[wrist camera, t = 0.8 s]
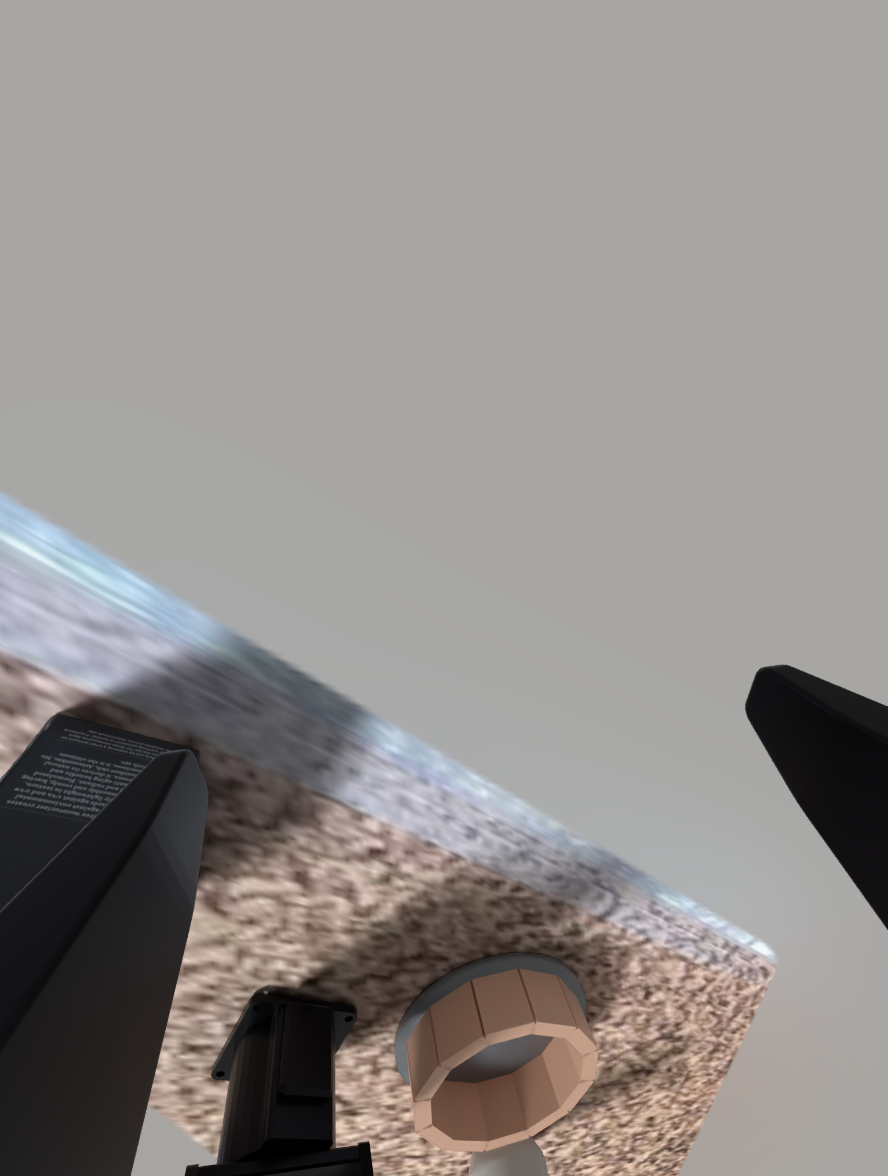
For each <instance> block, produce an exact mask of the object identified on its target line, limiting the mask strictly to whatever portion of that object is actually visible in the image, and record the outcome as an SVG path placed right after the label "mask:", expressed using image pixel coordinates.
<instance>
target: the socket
mask: <svg viewBox="0 0 888 1176" xmlns="http://www.w3.org/2000/svg"><path fill="white" fill-rule="evenodd" d="M585 1012H586V999H585V994H584V991H583V989H582V987H581V984H580V982H579V980H578V977H577V976H576V975H575V973H574V972H573V970H571V969H570V968H569V967H568V966H567V965H566V964H564V963H563V962H561V961H560V960H557V959H555V958H553V957H550V956H547V955H543V954H537V953H529V952H516V953H505V954H499V955H494V956H490V957H486V958H483V959H479V960H477V961H474V962H471V963H469V964H466V965H464V966H462V967H460V968H458V969H456V970H453V971H452V972H450V973H448V974H447V975H445V976H443V977H442V978H440V979H439V980H437V981H436V982H435V983H433V984H432V985H430V986H429V987H428V988H427V989H426V990H425V991H424V992H422V993H421V994H420V995H419V996H418V997H417V998H416V1000H415V1001H414V1002H413V1003H412V1004H411V1005H410V1007H409V1008H408V1009H407V1011H406V1012H405V1014H404V1016H403V1017H402V1019H401V1021H400V1023H399V1026H398V1029H397V1031H396V1036H395V1058H396V1064H397V1068H398V1071H399V1073H400V1075H401V1076H402V1078H403V1079H404V1080H405V1082H406V1083H407V1084H409V1085H410V1088H411V1096H412V1105H413V1113H414V1122H415V1130H416V1133H417V1134H419V1135H420V1136H422V1137H423V1138H425V1139H426V1140H428V1141H429V1142H431V1143H432V1144H434V1145H435V1146H437V1147H438V1148H440V1149H441V1150H442V1149H444V1151H475V1152H483V1151H484V1150H485V1151H488V1150H492V1149H495V1148H498V1147H501V1146H505V1145H508V1144H511V1143H514V1142H518V1141H521V1140H524V1139H528V1138H529V1135H530V1136H531V1137H532V1136H534V1135H535V1134H537V1133H538V1132H540V1131H541V1130H543V1129H544V1128H546V1127H547V1126H549V1125H551V1124H552V1123H554V1122H555V1121H557V1120H558V1119H560V1118H561V1117H563V1116H564V1115H566V1114H568V1113H569V1112H568V1111H571V1110H572V1109H573V1107H574V1106H575V1105H576V1104H577V1102H578V1101H579V1100H580V1099H581V1097H582V1096H583V1095H584V1094H585V1092H586V1091H587V1090H588V1088H589V1087H590V1086H591V1085H592V1083H593V1082H594V1079H595V1076H596V1068H597V1060H598V1051H599V1050H598V1047H597V1045H596V1042H595V1040H594V1037H593V1035H592V1033H591V1030H590V1028H589V1025H588V1023H587V1021H586V1018H585Z"/></svg>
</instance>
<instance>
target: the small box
mask: <svg viewBox="0 0 888 1176" xmlns="http://www.w3.org/2000/svg"><path fill="white" fill-rule="evenodd" d="M183 749H187V750H190V751H191V752H192V753H193V754H194V756H195V758H196V760H197V762H198V759H199V755H200V752H199V751H198V750H195V749H192V748H189V747H185V746H181V745H177V744H173V743H169V742H166V741H162V740H158V739H154V738H150V737H146V736H143V735H139V734H135V733H131V732H127V731H123V730H119V729H115V728H111V727H107V726H103V725H99V724H95V723H91V722H88V721H84V720H80V719H75V718H71V717H68V716H64V715H54V716H52V717H51V718H50V719H49V720H48V722H47V723H46V724H45V725H44V727H43V728H42V729H41V731H40V732H39V733H38V734H37V735H36V737H35V738H34V740H33V741H32V742H31V743H30V745H29V746H28V747H27V748H26V749H25V751H24V752H23V753H22V754H21V755H20V757H19V758H18V759H17V760H16V761H15V762H14V763H13V765H12V766H11V768H10V769H9V770H8V771H7V772H6V773H5V774H4V775H3V776H2V778H1V779H0V911H1V910H2V909H3V908H4V907H5V906H6V905H7V904H8V903H9V902H10V901H11V900H12V899H13V898H14V897H15V896H16V895H17V894H18V893H19V892H20V891H21V890H22V889H23V888H24V887H25V886H26V885H27V884H28V883H29V882H30V881H31V880H32V879H33V878H34V877H35V876H36V875H37V874H38V873H39V872H40V871H41V870H42V869H43V868H44V867H45V866H46V865H47V864H48V863H49V862H50V861H51V860H52V859H53V858H54V857H55V856H56V855H57V854H58V853H59V852H60V851H61V850H62V849H63V848H64V847H65V846H66V845H67V844H68V843H69V842H70V841H71V840H72V839H73V838H74V837H75V836H76V835H77V834H78V833H79V832H80V831H81V830H82V829H83V828H84V827H85V826H86V825H87V824H88V823H89V822H90V821H91V820H92V819H93V818H94V817H95V816H96V815H97V814H98V813H99V812H100V811H101V810H102V809H103V808H104V807H105V806H106V805H107V804H108V803H109V802H110V801H111V800H112V799H113V798H114V797H115V796H116V795H117V794H118V793H119V792H120V791H121V790H122V789H123V788H124V787H125V786H126V785H127V784H129V783H130V782H131V781H132V780H133V779H134V778H135V777H136V776H137V775H138V774H139V773H140V772H141V771H142V770H143V769H144V768H145V767H146V766H147V765H148V764H149V763H150V762H151V761H152V760H153V759H154V758H155V757H156V756H157V755H159V754H160V753H163V752H169V751H176V750H183Z"/></svg>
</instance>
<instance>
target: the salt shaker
mask: <svg viewBox="0 0 888 1176" xmlns="http://www.w3.org/2000/svg"><path fill="white" fill-rule="evenodd" d="M469 1176H548V1172H547V1165H546V1160H545V1157H544V1155H543V1152H542V1151H541V1149H540V1148H539V1146H538V1145H537V1144H536V1142H535V1141H534V1140H533V1138H532V1137H531V1136H530V1135H529V1138H528V1139H524V1140H521V1141H518V1142H514V1143H511V1144H508V1145H505V1146H501V1147H498V1148H495V1149H492V1150H488V1151H485V1150H484V1151H483V1152H475V1151H472V1157H471V1163H470V1169H469Z"/></svg>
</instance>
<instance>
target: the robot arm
mask: <svg viewBox="0 0 888 1176" xmlns="http://www.w3.org/2000/svg"><path fill="white" fill-rule="evenodd" d="M745 710H746V714H747V717H748V719H749V721H750V723H751V725H752V726H753V728H754V730H755V732H756V733H757V735H758V736H759V738H760V740H761V742H762V743H763V745H764V747H765V749H766V750H767V752H768V754H769V756H770V757H771V759H772V761H773V762H774V764H775V766H776V768H777V769H778V771H779V773H780V774H781V776H782V778H783V779H784V781H785V783H786V785H787V786H788V788H789V790H790V791H791V793H792V794H793V796H794V798H795V799H796V801H797V803H798V804H799V805H800V807H801V809H802V810H803V812H804V813H805V814H806V816H807V817H808V819H809V820H810V821H811V823H812V824H813V826H814V827H815V829H816V830H817V831H818V833H819V834H820V835H821V837H822V838H823V840H824V841H825V843H826V844H827V845H828V847H829V848H830V850H831V851H832V853H833V854H834V855H835V857H836V858H837V860H839V862H840V864H841V865H842V866H843V868H844V869H845V871H846V872H847V873H848V875H849V876H850V878H851V879H852V881H853V882H854V883H855V885H856V886H857V888H858V889H859V890H860V892H861V893H862V895H863V896H864V897H865V899H866V900H867V902H868V903H869V904H870V906H871V907H872V909H873V910H874V912H875V913H876V914H877V916H878V917H879V918H880V920H881V921H882V923H883V924H884V925H885V927H886V928H887V930H888V706H885V705H883V704H881V703H878V702H876V701H873V700H871V699H868V698H866V697H864V696H861V695H859V694H856V693H854V692H852V691H849V690H847V689H844V688H842V687H840V686H837V685H834V684H832V683H830V682H827V681H825V680H823V679H820V678H818V677H815V676H813V675H811V674H808V673H806V672H803V671H801V670H799V669H796V668H794V667H791V666H788V665H775V666H768V667H763V668H760V669H759V670H758V671H757V673H756V675H755V678H754V681H753V683H752V686H751V689H750V692H749V695H748V698H747V700H746V704H745ZM207 807H208V789H207V785H206V782H205V780H204V778H203V775H202V773H201V770H200V768H199V765H198V763H197V760H196V758H195V756H194V754H193V753H192V752H191V751H190V750H187V749H183V750H176V751H169V752H163V753H160V754H159V755H157V756H156V757H155V758H154V759H153V760H152V761H151V762H150V763H149V764H148V765H147V766H146V767H145V768H144V769H143V770H142V771H141V772H140V773H139V774H138V775H137V776H136V777H135V778H134V779H133V780H132V781H131V782H130V783H129V784H127V785H126V786H125V787H124V788H123V789H122V790H121V791H120V792H119V793H118V794H117V795H116V796H115V797H114V798H113V799H112V800H111V801H110V802H109V803H108V804H107V805H106V806H105V807H104V808H103V809H102V810H101V811H100V812H99V813H98V814H97V815H96V816H95V817H94V818H93V819H92V820H91V821H90V822H89V823H88V824H87V825H86V826H85V827H84V828H83V829H82V830H81V831H80V832H79V833H78V834H77V835H76V836H75V837H74V838H73V839H72V840H71V841H70V842H69V843H68V844H67V845H66V846H65V847H64V848H63V849H62V850H61V851H60V852H59V853H58V854H57V855H56V856H55V857H54V858H53V859H52V860H51V861H50V862H49V863H48V864H47V865H46V866H45V867H44V868H43V869H42V870H41V871H40V872H39V873H38V874H37V875H36V876H35V877H34V878H33V879H32V880H31V881H30V882H29V883H28V884H27V885H26V886H25V887H24V888H23V889H22V890H21V891H20V892H19V893H18V894H17V895H16V896H15V897H14V898H13V899H12V900H11V901H10V902H9V903H8V904H7V905H6V906H5V907H4V908H3V909H2V910H1V911H0V1176H131V1172H132V1168H133V1164H134V1159H135V1155H136V1151H137V1147H138V1143H139V1138H140V1134H141V1130H142V1126H143V1122H144V1118H145V1113H146V1109H147V1105H148V1101H149V1097H150V1093H151V1088H152V1084H153V1080H154V1076H155V1072H156V1068H157V1063H158V1059H159V1055H160V1051H161V1047H162V1042H163V1038H164V1034H165V1030H166V1026H167V1022H168V1017H169V1013H170V1009H171V1005H172V1001H173V996H174V992H175V988H176V984H177V980H178V976H179V971H180V967H181V963H182V959H183V955H184V950H185V946H186V942H187V938H188V934H189V930H190V925H191V920H192V916H193V911H194V905H195V898H196V892H197V884H198V876H199V869H200V861H201V853H202V845H203V838H204V830H205V822H206V814H207ZM356 1020H357V1008H356V1007H354V1006H350V1005H342V1004H334V1003H327V1002H319V1001H311V1000H304V999H296V998H289V997H281V996H273V995H266V994H257V995H254V996H253V997H251V999H250V1000H249V1002H248V1004H247V1005H246V1007H245V1009H244V1011H243V1013H242V1014H241V1016H240V1018H239V1020H238V1022H237V1023H236V1025H235V1027H234V1029H233V1031H232V1032H231V1034H230V1036H229V1038H228V1039H227V1041H226V1043H225V1045H224V1047H223V1048H222V1050H221V1052H220V1054H219V1056H218V1057H217V1059H216V1061H215V1063H214V1065H213V1068H212V1074H211V1076H212V1078H213V1079H216V1080H227V1081H229V1086H228V1093H227V1099H226V1106H225V1113H224V1119H223V1126H222V1132H221V1139H220V1146H219V1152H218V1159H217V1164H216V1165H209V1166H201V1167H199V1164H196V1165H188V1166H187V1167H186V1172H185V1176H374V1175H373V1167H372V1159H371V1151H370V1143H369V1141H367V1142H359V1143H358V1145H356V1146H349V1147H341V1148H336V1130H335V1054H336V1052H337V1050H338V1049H339V1047H340V1046H341V1044H342V1042H343V1041H344V1039H345V1038H346V1036H347V1034H348V1033H349V1031H350V1030H351V1028H352V1026H353V1025H354V1023H355V1022H356Z"/></svg>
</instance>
